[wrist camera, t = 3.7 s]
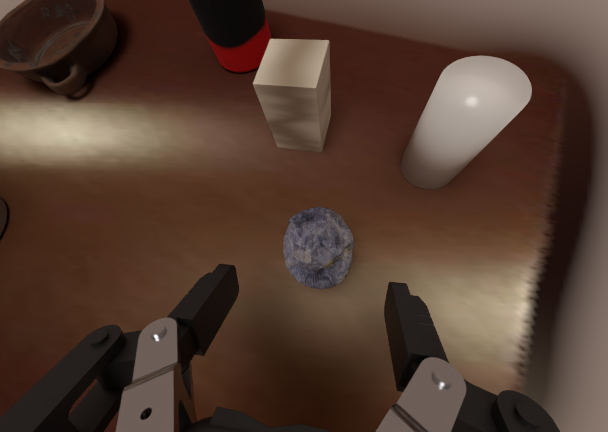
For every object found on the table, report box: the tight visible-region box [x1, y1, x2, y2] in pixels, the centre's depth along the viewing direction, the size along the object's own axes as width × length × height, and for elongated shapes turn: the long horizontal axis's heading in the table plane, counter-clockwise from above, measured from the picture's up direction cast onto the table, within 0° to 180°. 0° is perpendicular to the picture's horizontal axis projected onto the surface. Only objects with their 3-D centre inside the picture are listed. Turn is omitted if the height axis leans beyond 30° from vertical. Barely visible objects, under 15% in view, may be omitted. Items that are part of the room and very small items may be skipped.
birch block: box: [253, 39, 331, 153], centre depth 22 cm, size 5×5×8 cm
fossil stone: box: [283, 207, 354, 289], centre depth 16 cm, size 5×5×10 cm
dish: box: [0, 0, 118, 95], centre depth 34 cm, size 18×22×5 cm
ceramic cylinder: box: [400, 56, 532, 189], centre depth 18 cm, size 5×5×9 cm
